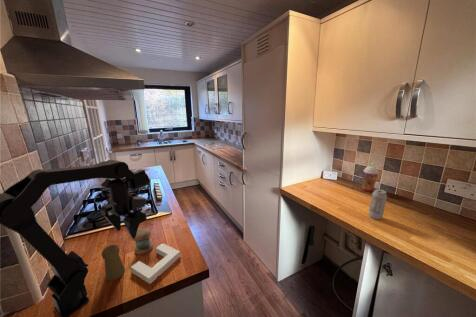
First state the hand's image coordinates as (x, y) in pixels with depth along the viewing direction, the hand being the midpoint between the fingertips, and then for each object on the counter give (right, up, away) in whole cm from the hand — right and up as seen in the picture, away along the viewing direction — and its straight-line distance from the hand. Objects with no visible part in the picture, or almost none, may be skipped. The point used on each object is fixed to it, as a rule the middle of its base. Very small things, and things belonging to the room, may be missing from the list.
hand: (126, 233), depth 72 cm
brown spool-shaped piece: (+2, -10, +10) cm, 14 cm away
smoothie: (+131, +6, +62) cm, 145 cm away
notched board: (+11, -12, +2) cm, 16 cm away
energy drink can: (+114, -3, +30) cm, 118 cm away
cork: (-3, -14, -2) cm, 14 cm away
